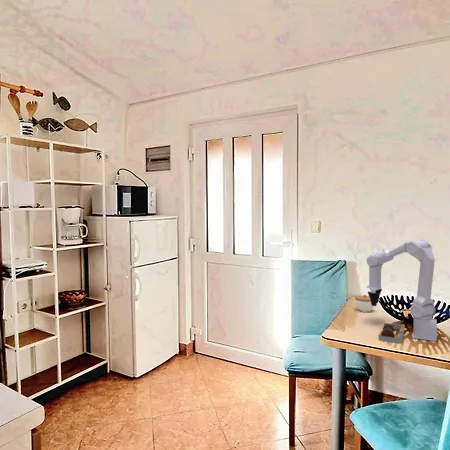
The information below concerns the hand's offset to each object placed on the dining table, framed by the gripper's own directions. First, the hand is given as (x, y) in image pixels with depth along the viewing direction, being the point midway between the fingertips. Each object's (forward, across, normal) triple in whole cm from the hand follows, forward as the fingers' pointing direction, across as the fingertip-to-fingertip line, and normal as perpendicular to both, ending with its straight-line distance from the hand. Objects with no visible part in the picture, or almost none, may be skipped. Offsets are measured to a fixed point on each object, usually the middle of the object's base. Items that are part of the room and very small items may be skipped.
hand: (374, 304), depth 187 cm
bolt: (+10, +19, +8) cm, 23 cm away
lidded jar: (+10, -21, -8) cm, 24 cm away
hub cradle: (+9, +17, +9) cm, 21 cm away
